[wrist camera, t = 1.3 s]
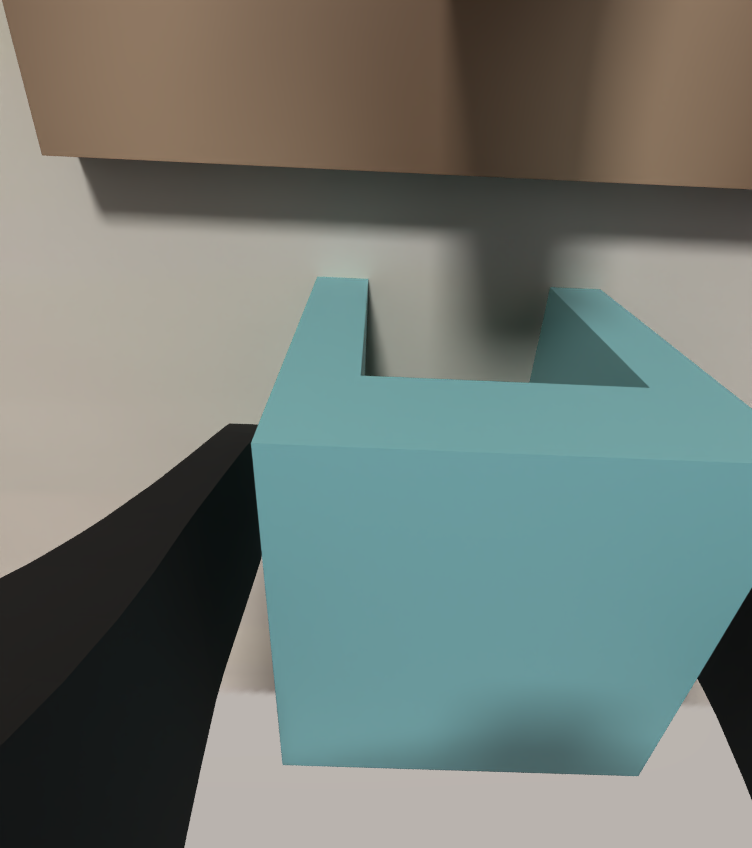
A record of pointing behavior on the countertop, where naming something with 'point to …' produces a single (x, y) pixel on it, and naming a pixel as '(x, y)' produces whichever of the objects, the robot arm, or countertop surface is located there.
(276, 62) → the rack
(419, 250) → the countertop surface
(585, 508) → the teal notched block
